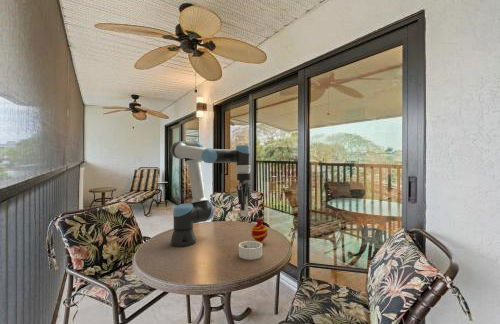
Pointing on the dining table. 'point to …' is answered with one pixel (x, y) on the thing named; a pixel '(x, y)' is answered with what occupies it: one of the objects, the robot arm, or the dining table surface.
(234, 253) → the dining table surface
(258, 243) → the white round bowl
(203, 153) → the robot arm
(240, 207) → the cream rectangular box
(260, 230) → the potion bottle
